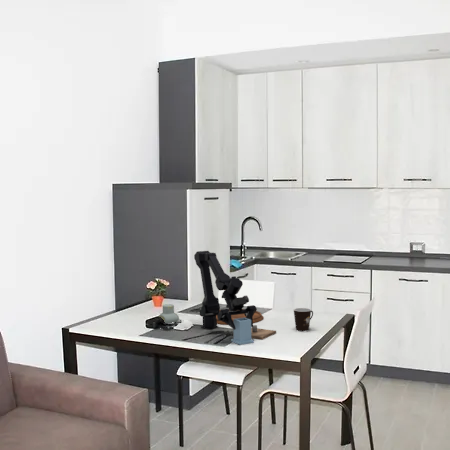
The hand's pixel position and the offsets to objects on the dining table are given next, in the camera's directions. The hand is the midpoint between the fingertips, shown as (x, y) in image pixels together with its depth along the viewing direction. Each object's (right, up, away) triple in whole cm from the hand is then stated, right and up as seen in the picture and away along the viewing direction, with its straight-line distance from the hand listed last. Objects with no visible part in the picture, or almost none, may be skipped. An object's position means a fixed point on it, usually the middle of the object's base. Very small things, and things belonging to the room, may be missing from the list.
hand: (243, 327), depth 282 cm
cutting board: (-4, -4, +51) cm, 51 cm away
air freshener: (-38, -5, +40) cm, 55 cm away
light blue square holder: (0, -7, +2) cm, 7 cm away
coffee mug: (+31, -5, +24) cm, 40 cm away
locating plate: (+6, -6, +15) cm, 17 cm away
